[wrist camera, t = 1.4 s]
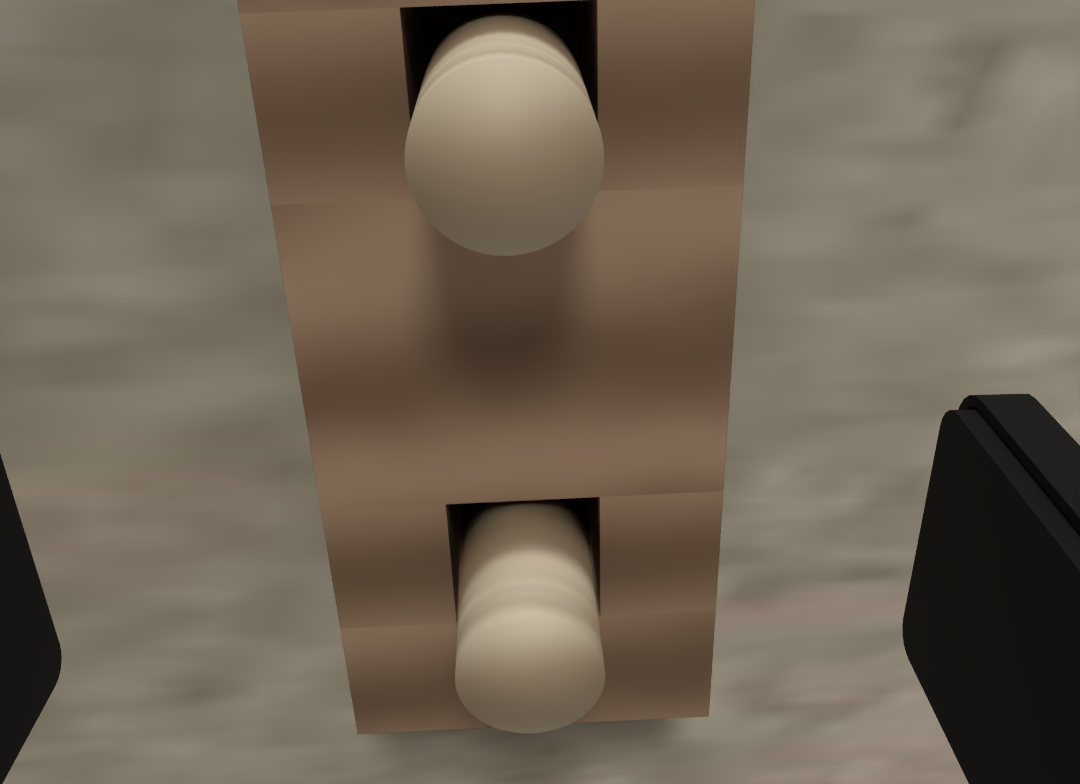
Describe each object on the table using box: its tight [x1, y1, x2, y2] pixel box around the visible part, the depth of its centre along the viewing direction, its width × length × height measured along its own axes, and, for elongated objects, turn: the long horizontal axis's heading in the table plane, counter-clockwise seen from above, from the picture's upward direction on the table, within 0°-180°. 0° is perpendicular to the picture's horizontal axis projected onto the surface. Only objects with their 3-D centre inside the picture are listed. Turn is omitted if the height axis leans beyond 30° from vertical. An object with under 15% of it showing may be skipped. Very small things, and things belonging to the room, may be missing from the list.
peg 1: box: [405, 12, 604, 256], centre depth 23 cm, size 4×4×6 cm
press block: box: [237, 0, 755, 734], centre depth 31 cm, size 28×12×6 cm, turn 2°
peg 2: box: [455, 499, 605, 733], centre depth 30 cm, size 4×4×6 cm
